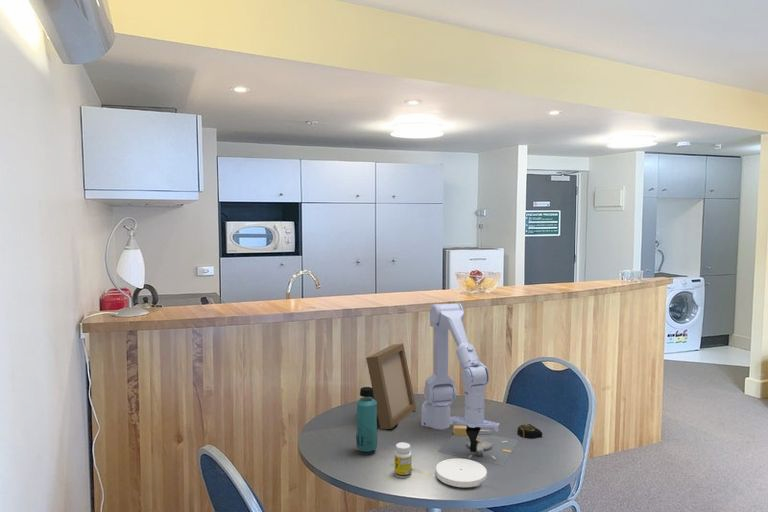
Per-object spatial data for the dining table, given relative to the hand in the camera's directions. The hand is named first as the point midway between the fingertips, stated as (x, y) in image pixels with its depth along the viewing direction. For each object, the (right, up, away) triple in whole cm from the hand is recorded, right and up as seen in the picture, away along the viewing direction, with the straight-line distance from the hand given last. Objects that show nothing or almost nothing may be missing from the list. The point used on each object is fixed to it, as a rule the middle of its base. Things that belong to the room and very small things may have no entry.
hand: (473, 450), depth 160 cm
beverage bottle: (-32, -2, +4) cm, 32 cm away
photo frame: (-26, 0, +34) cm, 43 cm away
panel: (+3, -2, +7) cm, 8 cm away
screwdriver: (+2, 0, +15) cm, 16 cm away
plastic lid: (-5, -4, -12) cm, 13 cm away
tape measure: (+21, -2, +16) cm, 27 cm away
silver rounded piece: (+2, -1, +5) cm, 5 cm away
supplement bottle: (-21, -3, -10) cm, 24 cm away
